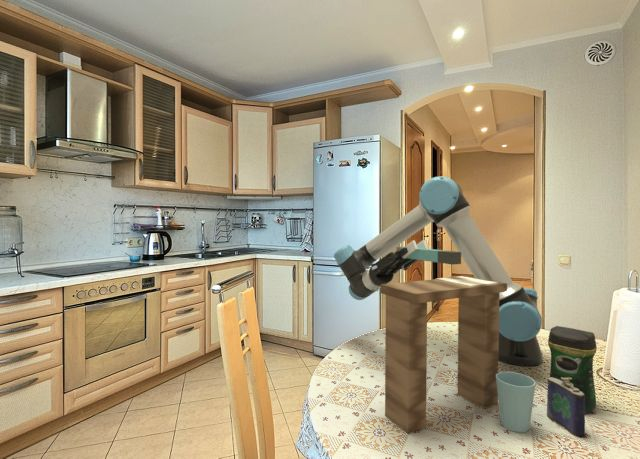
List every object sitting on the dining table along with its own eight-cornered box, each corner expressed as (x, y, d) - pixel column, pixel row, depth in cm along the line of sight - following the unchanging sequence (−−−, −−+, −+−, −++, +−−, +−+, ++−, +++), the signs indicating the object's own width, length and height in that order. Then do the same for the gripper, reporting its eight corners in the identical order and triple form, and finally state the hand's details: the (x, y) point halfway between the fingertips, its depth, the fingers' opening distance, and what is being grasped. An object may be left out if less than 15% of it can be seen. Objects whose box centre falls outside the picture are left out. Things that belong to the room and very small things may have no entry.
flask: (543, 415, 84) (544, 369, 84) (555, 414, 85) (556, 368, 84) (577, 439, 75) (578, 387, 75) (590, 437, 75) (591, 386, 75)
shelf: (465, 387, 98) (466, 275, 97) (505, 407, 87) (507, 282, 87) (379, 411, 86) (380, 283, 85) (414, 438, 75) (415, 292, 74)
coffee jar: (599, 406, 88) (601, 330, 88) (590, 417, 83) (592, 337, 82) (553, 392, 95) (555, 321, 95) (543, 401, 90) (544, 327, 90)
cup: (543, 430, 78) (543, 382, 78) (518, 439, 75) (519, 389, 74) (511, 413, 85) (512, 369, 85) (487, 421, 82) (488, 375, 81)
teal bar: (404, 256, 112) (404, 246, 111) (461, 263, 92) (461, 252, 92) (396, 256, 110) (396, 246, 110) (452, 264, 90) (452, 252, 90)
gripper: (400, 284, 123) (446, 255, 105) (360, 288, 116) (402, 257, 98) (394, 264, 127) (437, 232, 108) (354, 266, 119) (393, 233, 101)
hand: (420, 244), depth 103 cm, fingers closed on teal bar, 3 cm apart
